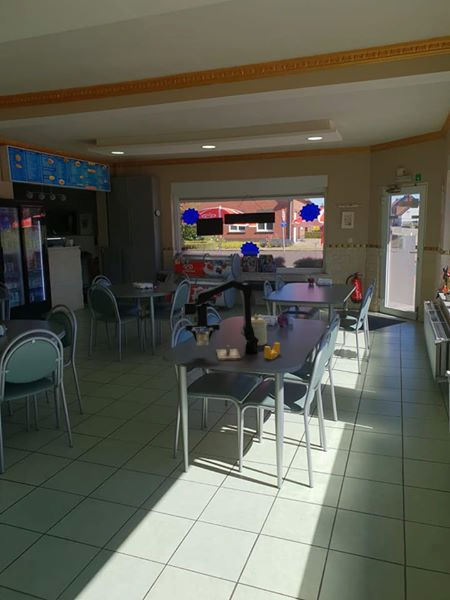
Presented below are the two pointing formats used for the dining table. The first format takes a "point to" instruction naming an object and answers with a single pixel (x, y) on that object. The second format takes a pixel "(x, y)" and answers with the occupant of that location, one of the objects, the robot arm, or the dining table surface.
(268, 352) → the pipe clamp
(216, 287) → the robot arm
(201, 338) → the collar
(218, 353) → the post board
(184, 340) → the dining table surface
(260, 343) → the jar
